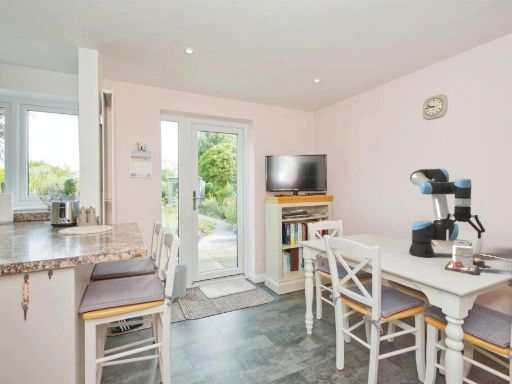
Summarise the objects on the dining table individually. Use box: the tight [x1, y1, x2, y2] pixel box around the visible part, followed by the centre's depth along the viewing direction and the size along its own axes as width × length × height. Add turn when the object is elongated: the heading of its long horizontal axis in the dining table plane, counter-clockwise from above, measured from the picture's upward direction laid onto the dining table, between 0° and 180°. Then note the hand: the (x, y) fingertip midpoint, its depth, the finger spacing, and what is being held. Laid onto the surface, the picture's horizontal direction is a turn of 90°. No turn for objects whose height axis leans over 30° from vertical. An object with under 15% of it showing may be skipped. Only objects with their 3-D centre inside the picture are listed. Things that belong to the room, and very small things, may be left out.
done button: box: [473, 257, 483, 263], centre depth 160 cm, size 4×4×2 cm
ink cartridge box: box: [451, 239, 474, 268], centre depth 154 cm, size 9×5×15 cm, turn 71°
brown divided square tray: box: [444, 261, 480, 276], centre depth 154 cm, size 14×14×2 cm
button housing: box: [473, 259, 486, 269], centre depth 160 cm, size 6×6×2 cm
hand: (461, 242), depth 154 cm, fingers open, 13 cm apart
